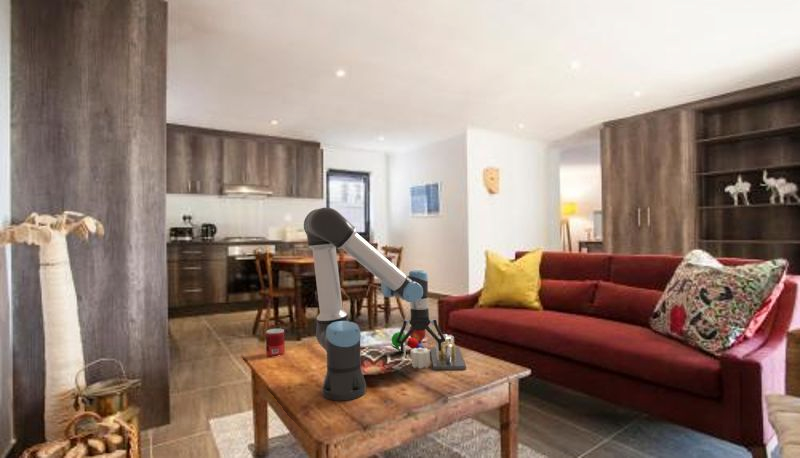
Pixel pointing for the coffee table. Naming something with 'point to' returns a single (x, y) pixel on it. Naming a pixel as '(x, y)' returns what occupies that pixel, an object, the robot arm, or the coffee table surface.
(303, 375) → the coffee table surface
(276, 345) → the canned food
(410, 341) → the toy
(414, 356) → the planet gear
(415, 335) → the apple
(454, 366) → the carrier
